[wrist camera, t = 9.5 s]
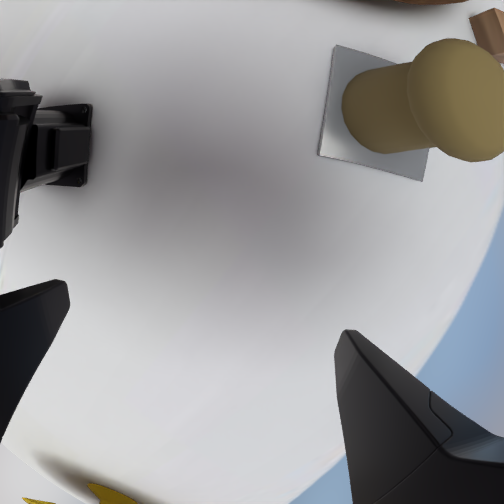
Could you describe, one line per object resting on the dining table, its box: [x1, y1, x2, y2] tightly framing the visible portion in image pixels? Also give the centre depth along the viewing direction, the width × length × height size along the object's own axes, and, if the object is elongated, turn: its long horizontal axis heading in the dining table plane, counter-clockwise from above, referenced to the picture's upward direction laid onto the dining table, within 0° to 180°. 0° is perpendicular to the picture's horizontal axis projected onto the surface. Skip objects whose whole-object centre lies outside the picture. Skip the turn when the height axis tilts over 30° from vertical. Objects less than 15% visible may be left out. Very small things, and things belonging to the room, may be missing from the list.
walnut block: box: [469, 8, 504, 64], centre depth 12 cm, size 4×4×4 cm
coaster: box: [318, 45, 429, 182], centre depth 17 cm, size 8×8×1 cm
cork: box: [341, 39, 504, 162], centre depth 12 cm, size 6×6×11 cm
